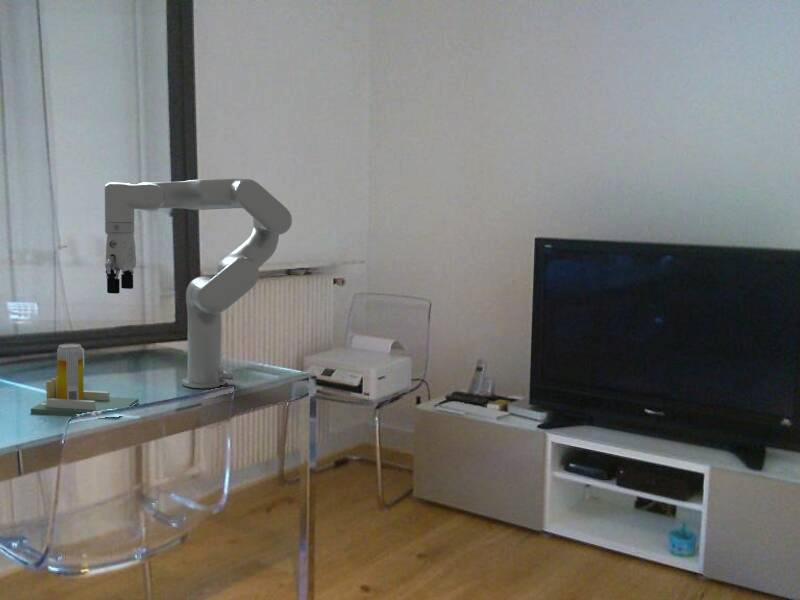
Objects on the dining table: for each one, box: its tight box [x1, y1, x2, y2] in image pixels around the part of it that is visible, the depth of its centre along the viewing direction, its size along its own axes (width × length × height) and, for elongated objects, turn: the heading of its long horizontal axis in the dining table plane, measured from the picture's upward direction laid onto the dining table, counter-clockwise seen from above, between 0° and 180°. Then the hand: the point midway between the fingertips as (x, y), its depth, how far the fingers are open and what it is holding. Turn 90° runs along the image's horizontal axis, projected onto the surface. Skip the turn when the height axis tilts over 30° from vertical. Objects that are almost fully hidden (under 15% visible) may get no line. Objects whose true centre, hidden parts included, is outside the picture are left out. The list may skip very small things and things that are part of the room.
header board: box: [30, 375, 140, 417], centre depth 202 cm, size 22×14×7 cm, turn 88°
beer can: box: [56, 343, 84, 400], centre depth 201 cm, size 6×6×15 cm
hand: (120, 290), depth 216 cm, fingers open, 9 cm apart
